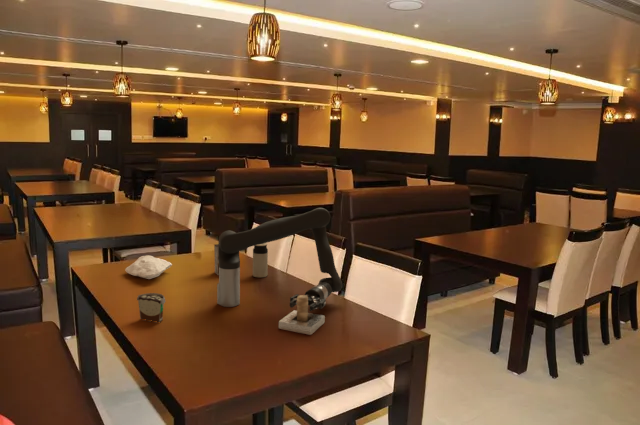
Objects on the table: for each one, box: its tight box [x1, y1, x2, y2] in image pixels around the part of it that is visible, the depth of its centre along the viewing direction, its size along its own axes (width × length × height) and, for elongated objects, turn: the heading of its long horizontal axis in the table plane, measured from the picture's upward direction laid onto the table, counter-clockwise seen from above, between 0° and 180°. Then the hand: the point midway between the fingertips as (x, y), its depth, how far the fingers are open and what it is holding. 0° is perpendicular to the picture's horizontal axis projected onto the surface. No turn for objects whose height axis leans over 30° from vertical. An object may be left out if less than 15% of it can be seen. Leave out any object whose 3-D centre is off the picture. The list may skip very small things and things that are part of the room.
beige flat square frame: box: [278, 309, 326, 336], centre depth 193 cm, size 14×14×3 cm
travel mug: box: [252, 242, 269, 278], centre depth 259 cm, size 8×8×18 cm
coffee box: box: [213, 243, 219, 276], centre depth 263 cm, size 9×6×16 cm
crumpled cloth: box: [124, 255, 173, 280], centre depth 255 cm, size 24×35×9 cm
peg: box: [296, 294, 309, 323], centre depth 193 cm, size 4×4×12 cm
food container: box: [136, 292, 166, 323], centre depth 195 cm, size 12×6×10 cm, turn 71°
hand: (300, 306), depth 191 cm, fingers open, 8 cm apart
